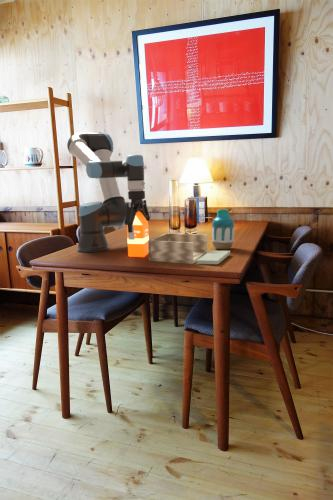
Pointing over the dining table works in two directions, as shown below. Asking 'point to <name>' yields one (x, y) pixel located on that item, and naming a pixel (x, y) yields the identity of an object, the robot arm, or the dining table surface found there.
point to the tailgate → (213, 257)
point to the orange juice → (139, 237)
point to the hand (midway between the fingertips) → (138, 237)
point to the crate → (177, 248)
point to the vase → (223, 230)
